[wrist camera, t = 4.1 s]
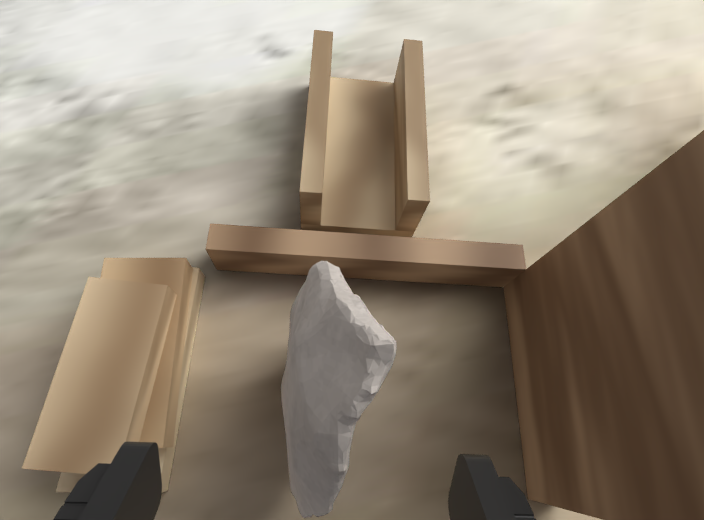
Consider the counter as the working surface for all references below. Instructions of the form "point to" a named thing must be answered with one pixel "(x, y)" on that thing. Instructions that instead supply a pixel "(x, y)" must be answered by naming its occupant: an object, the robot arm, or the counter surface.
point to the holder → (365, 148)
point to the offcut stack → (121, 368)
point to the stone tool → (328, 383)
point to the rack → (570, 336)
